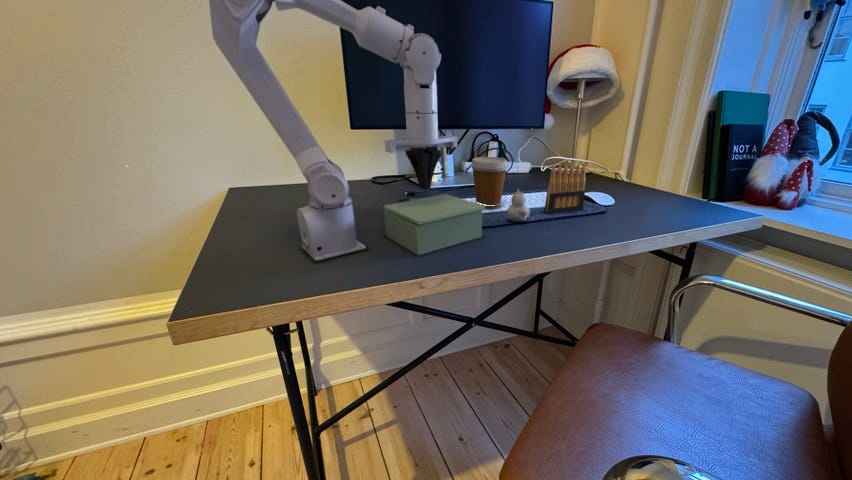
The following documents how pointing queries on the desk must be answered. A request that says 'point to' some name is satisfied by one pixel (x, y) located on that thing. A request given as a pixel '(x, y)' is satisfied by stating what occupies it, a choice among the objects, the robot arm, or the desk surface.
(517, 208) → the grey gourd
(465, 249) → the desk surface
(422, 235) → the box
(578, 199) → the ammunition clip
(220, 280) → the desk surface
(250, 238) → the desk surface
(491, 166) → the disposable coffee cup
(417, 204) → the box lid
